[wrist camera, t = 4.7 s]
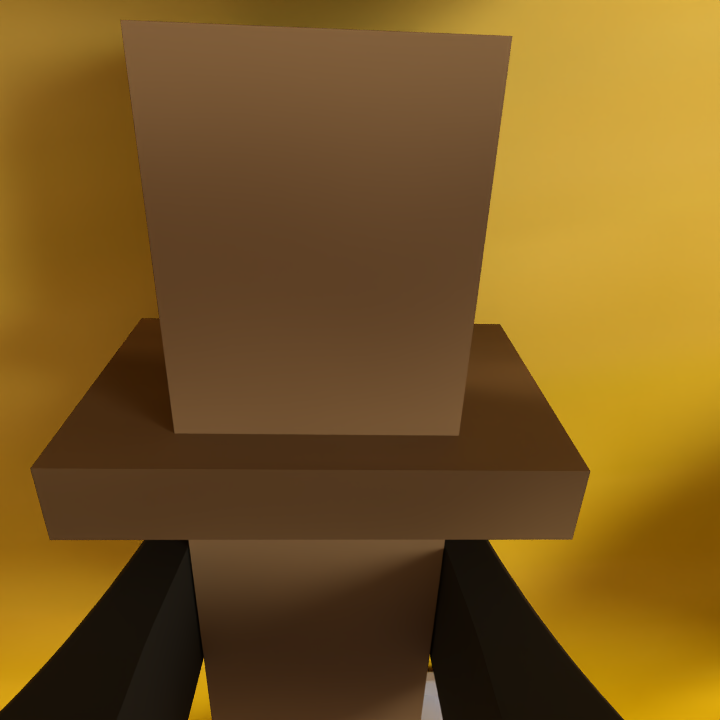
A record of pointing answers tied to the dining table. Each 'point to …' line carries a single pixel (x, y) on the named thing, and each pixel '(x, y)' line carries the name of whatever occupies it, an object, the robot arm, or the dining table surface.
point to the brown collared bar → (314, 358)
